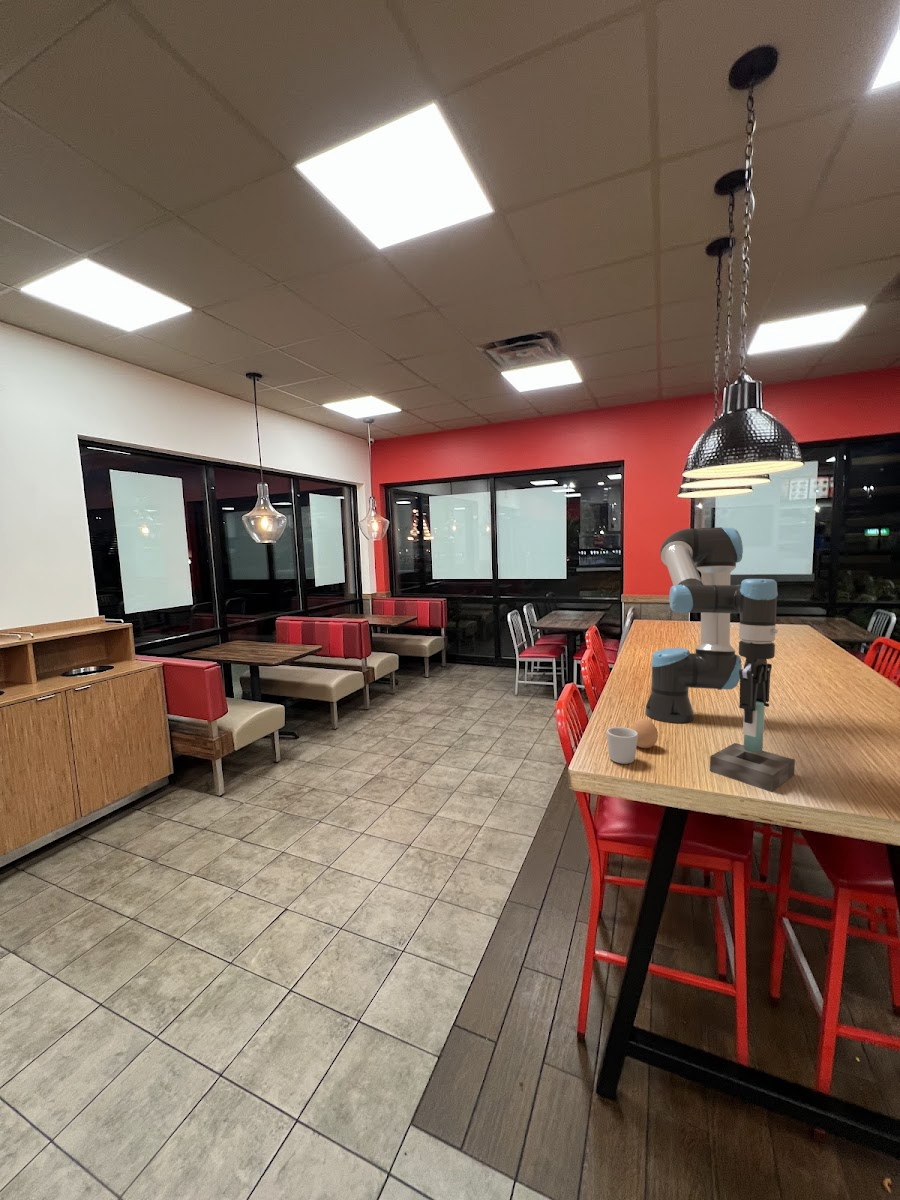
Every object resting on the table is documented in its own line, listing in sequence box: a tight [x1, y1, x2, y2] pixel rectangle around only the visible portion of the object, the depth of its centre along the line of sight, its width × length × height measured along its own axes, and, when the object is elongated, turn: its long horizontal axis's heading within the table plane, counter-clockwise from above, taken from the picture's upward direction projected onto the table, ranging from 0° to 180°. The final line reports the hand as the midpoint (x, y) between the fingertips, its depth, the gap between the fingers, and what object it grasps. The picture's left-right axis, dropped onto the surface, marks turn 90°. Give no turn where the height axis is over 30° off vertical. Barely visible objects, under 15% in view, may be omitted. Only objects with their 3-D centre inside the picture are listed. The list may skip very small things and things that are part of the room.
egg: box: [630, 717, 659, 749], centre depth 137 cm, size 7×7×8 cm
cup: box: [606, 726, 638, 765], centre depth 130 cm, size 11×8×8 cm
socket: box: [709, 742, 796, 793], centre depth 120 cm, size 14×14×4 cm
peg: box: [743, 701, 765, 752], centre depth 119 cm, size 4×4×12 cm
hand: (753, 732), depth 119 cm, fingers closed on peg, 4 cm apart
